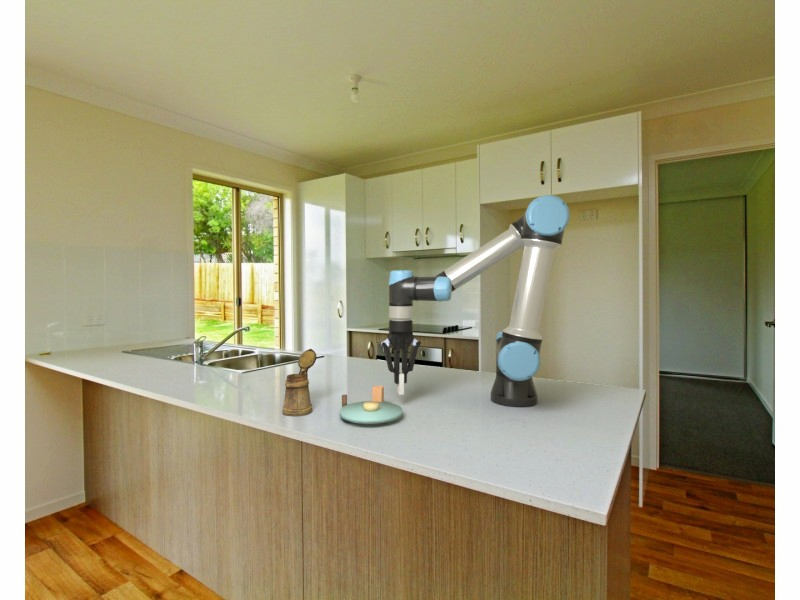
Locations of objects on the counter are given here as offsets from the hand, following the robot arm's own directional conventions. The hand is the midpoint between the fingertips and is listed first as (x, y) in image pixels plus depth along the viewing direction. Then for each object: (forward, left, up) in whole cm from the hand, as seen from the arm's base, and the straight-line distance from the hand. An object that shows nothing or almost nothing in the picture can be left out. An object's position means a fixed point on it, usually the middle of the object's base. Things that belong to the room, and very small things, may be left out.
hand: (400, 393), depth 138 cm
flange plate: (+7, +12, -3) cm, 14 cm away
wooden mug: (+30, +8, -4) cm, 31 cm away
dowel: (+16, +8, -4) cm, 18 cm away
